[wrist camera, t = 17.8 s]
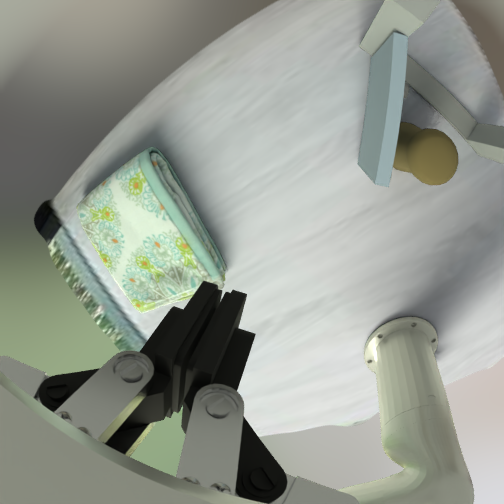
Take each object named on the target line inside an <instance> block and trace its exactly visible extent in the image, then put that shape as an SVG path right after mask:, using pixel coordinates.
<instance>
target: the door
mask: <svg viewBox="0 0 504 504" xmlns="http://www.w3.org/2000/svg"><path fill="white" fill-rule="evenodd" d="M407 47H408V36H405V35H402V34H398V33H395V32H394V33H393V34H392V35H391V36H390V37H389V38H388V39H387V41H386V42H385V43H384V44H383V45H382V46H381V47H380V48H379V50H378V51H377V52H376V53H375V54H374V55H373V57H372V58H371V66H370V76H369V86H368V95H367V103H366V111H365V119H364V126H363V133H362V140H361V146H360V152H359V158H358V165H359V166H360V167H361V169H362V170H363V171H364V172H365V173H366V174H367V175H368V177H369V178H370V179H371V180H372V181H373V183H374V184H377V185H381V186H385V187H389V183H390V178H391V173H392V168H393V163H394V157H395V152H396V146H397V140H398V133H399V127H400V120H401V112H402V105H403V98H407V96H408V92H409V84H408V83H406V82H405V76H406V63H407Z"/></svg>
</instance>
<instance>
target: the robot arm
mask: <svg viewBox="0 0 504 504" xmlns="http://www.w3.org/2000/svg"><path fill="white" fill-rule="evenodd" d="M221 295H222V290H219V289H218V285H217V284H213V283H210V282H207V281H203V282H202V283H201V285H200V286H199V288H198V289H197V290H196V292H195V293H194V295H193V296H192V298H191V299H190V301H189V302H188V304H187V305H186V307H185V308H184V310H183V309H180V308H177V307H175V306H174V307H172V308H171V309H170V311H169V312H168V313H167V315H166V316H165V317H164V319H163V320H162V321H161V323H160V324H159V326H158V327H157V328H156V330H155V331H154V332H153V334H152V335H151V337H150V338H149V339H148V341H147V342H146V344H145V345H144V346H143V348H142V349H141V351H140V352H137V351H123V352H120V353H117V354H116V355H115V356H113V357H112V358H111V359H110V360H109V361H108V362H107V363H106V364H104V365H103V366H102V367H101V368H100V369H94V370H88V371H81V372H75V373H68V374H61V375H55V376H51V377H50V376H47V374H46V372H43V371H40V370H38V369H35V368H33V367H31V366H28V365H26V364H24V363H21V362H19V361H17V360H15V359H12V358H10V357H7V356H0V504H473V502H474V489H473V484H472V480H471V477H470V475H469V472H468V469H467V466H466V463H465V461H464V458H463V455H462V452H461V448H460V446H459V442H458V439H457V434H456V431H455V427H454V423H453V419H452V415H451V411H450V407H449V403H448V400H447V396H446V392H445V389H444V385H443V382H442V378H441V375H440V372H439V369H438V366H437V362H436V359H435V356H434V353H435V351H436V349H437V345H438V337H437V333H436V331H435V329H434V327H433V326H432V324H430V323H429V322H428V321H426V320H424V319H422V318H418V317H403V318H399V319H395V320H392V321H390V322H388V323H386V324H384V325H382V326H381V327H379V328H378V329H377V330H376V331H375V332H374V333H373V334H372V335H371V336H370V337H369V339H368V341H367V342H366V345H365V348H364V360H365V363H366V365H367V367H368V368H369V369H370V370H371V371H372V372H374V373H375V374H376V380H377V389H378V400H379V411H380V424H381V438H382V446H383V449H384V451H385V453H386V454H387V456H388V457H389V458H390V459H391V460H393V461H394V462H395V463H397V464H398V465H400V466H402V467H403V468H404V470H403V471H402V472H400V473H398V474H395V475H391V476H389V477H386V478H383V479H379V480H375V481H371V482H367V483H363V484H358V485H354V486H350V487H346V488H342V489H339V490H335V489H332V488H329V487H326V486H323V485H320V484H317V483H315V482H311V481H309V480H307V479H304V478H301V477H299V476H297V477H296V478H295V477H293V476H291V475H288V474H286V473H285V472H284V470H283V469H282V468H281V466H280V465H279V464H278V462H277V461H276V460H275V459H274V457H273V456H272V455H271V453H270V452H269V451H268V449H267V448H266V447H265V445H264V444H263V443H262V441H261V440H260V439H259V437H258V436H257V435H256V433H255V432H254V430H253V429H252V428H251V426H250V425H249V423H248V422H247V421H246V419H245V418H244V416H243V415H244V401H243V399H242V397H241V395H240V394H239V393H238V392H237V389H238V386H239V383H240V380H241V377H242V374H243V371H244V368H245V365H246V362H247V359H248V356H249V353H250V350H251V347H252V344H253V341H254V338H255V333H251V332H248V331H245V330H242V329H239V328H238V327H239V323H240V320H241V316H242V312H243V308H244V304H245V301H246V297H247V294H245V293H242V292H238V291H235V290H232V292H231V293H229V292H226V293H225V294H224V296H223V298H222V300H221ZM220 300H221V302H220ZM182 405H183V412H182V425H181V426H182V429H183V431H184V433H185V434H186V436H185V440H184V444H183V449H182V453H181V457H180V462H179V466H178V470H177V475H176V477H174V476H172V475H169V474H167V473H164V472H162V471H159V470H157V469H155V468H152V467H150V466H148V465H145V464H143V463H141V462H139V461H137V460H135V459H132V458H130V456H131V455H132V453H133V452H134V451H135V450H136V448H137V447H138V446H139V445H140V443H141V442H142V441H143V440H144V438H145V437H146V436H147V434H148V433H149V432H150V431H151V429H152V428H153V427H154V425H155V423H156V422H157V421H161V420H164V418H165V417H166V416H167V417H169V418H171V416H172V414H173V412H174V411H175V412H177V413H179V411H180V409H181V407H182Z"/></svg>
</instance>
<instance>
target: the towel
mask: <svg viewBox="0 0 504 504" xmlns="http://www.w3.org/2000/svg"><path fill="white" fill-rule="evenodd" d="M77 213H78V217H79V218H80V221H81V225H82V227H83V230H84V231H85V233H86V235H87V237H88V238H89V240H90V241H91V243H92V245H93V246H94V248H95V249H96V251H97V252H98V254H99V256H100V258H101V259H102V261H103V263H104V265H105V266H106V268H107V269H108V271H109V273H110V274H111V276H112V277H113V279H114V280H115V282H116V283H117V284H118V286H119V287H120V289H121V290H122V291H123V293H124V294H125V296H126V297H127V298H128V300H129V301H130V302H131V304H132V305H133V306H134V308H135V309H136V310H138V311H139V313H144V312H147V311H150V310H153V309H156V308H158V307H161V306H163V305H167V304H170V303H174V302H178V301H182V300H186V299H189V298H192V296H193V295H194V293H195V292H196V290H197V289H198V288H199V286H200V285H201V283H202V282H203V281H207V282H210V283H213V284H217V285H218V289H222V288H223V287H224V283H223V281H225V273H224V271H225V269H226V265H225V263H224V261H223V259H222V257H221V255H220V253H219V251H218V249H217V247H216V245H215V244H214V242H213V240H212V239H211V237H210V235H209V233H208V231H207V230H206V228H205V227H204V225H203V223H202V221H201V219H200V217H199V215H198V214H197V212H196V210H195V208H194V206H193V204H192V203H191V201H190V199H189V197H188V195H187V193H186V192H185V190H184V188H183V186H182V184H181V182H180V181H179V179H178V177H177V175H176V174H175V172H174V170H173V169H172V167H171V165H170V164H169V162H168V161H167V159H166V158H165V157H164V156H163V155H162V153H161V152H160V151H159V150H158V149H156V148H154V147H149V148H147V149H146V150H144V151H143V152H142V153H139V154H138V155H137V156H135V157H134V158H132V159H131V160H130V161H128V162H127V163H126V164H124V165H123V166H122V167H120V168H119V169H118V170H116V171H115V172H114V173H113V174H112V175H110V176H109V177H108V178H107V179H105V180H104V181H103V182H102V183H100V184H99V185H98V186H97V187H96V188H95V189H94V190H92V191H91V192H90V193H89V194H88V195H87V196H86V197H85V198H84V199H83V200H82V201H81V202H80V203H79V204H78V206H77Z"/></svg>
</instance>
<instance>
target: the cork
mask: <svg viewBox="0 0 504 504" xmlns="http://www.w3.org/2000/svg"><path fill="white" fill-rule="evenodd" d="M457 166H458V153H457V149H456V146H455V145H454V143H453V141H452V140H451V139H450V138H449V137H448V136H447V135H446V134H445V133H443V132H441V131H439V130H436V129H423V130H422V129H420V128H419V127H417V126H415V125H413V124H410V123H407V122H400V127H399V133H398V140H397V146H396V152H395V157H394V163H393V167H394V168H395V169H397V170H400V171H404V172H409V173H412V174H413V175H414V176H415V177H416V178H417V179H418V180H420V181H421V182H422V183H425V184H428V185H441V184H443V183H446V182H447V181H449V180H450V179H451V178H452V177H453V175H454V174H455V172H456V169H457Z"/></svg>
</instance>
